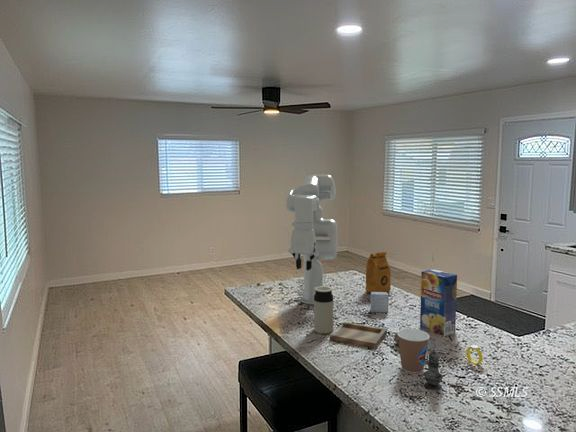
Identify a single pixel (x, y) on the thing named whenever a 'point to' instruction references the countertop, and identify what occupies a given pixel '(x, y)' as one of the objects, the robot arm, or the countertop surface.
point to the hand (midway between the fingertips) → (303, 268)
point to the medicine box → (379, 302)
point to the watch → (478, 354)
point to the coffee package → (377, 273)
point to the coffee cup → (413, 349)
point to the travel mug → (323, 309)
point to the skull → (396, 338)
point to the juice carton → (438, 301)
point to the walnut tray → (359, 335)
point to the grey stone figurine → (433, 372)
